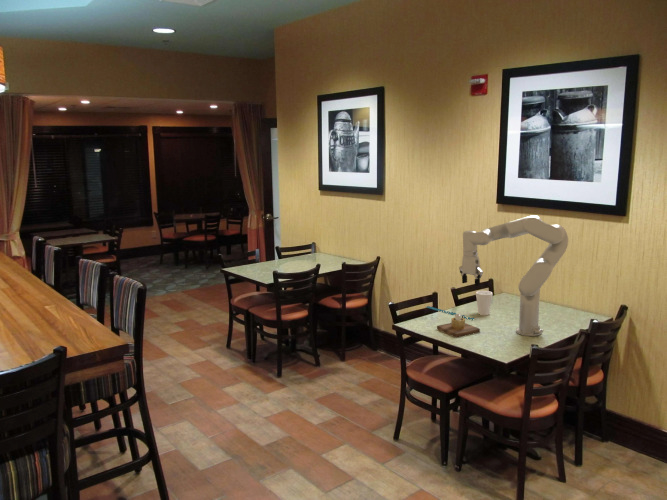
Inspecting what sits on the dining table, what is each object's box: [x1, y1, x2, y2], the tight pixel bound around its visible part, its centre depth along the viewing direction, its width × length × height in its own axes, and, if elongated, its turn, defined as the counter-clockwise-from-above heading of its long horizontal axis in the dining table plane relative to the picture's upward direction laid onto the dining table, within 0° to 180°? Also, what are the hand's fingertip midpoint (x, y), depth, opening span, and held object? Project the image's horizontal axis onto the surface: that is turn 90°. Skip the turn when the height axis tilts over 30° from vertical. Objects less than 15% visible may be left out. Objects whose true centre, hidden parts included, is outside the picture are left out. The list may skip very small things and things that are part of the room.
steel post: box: [454, 313, 462, 321], centre depth 290 cm, size 3×3×7 cm
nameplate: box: [425, 305, 475, 321], centre depth 323 cm, size 37×1×5 cm
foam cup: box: [475, 290, 494, 316], centre depth 318 cm, size 10×9×13 cm
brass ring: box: [450, 317, 466, 329], centre depth 290 cm, size 7×7×4 cm
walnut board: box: [436, 322, 481, 338], centre depth 291 cm, size 16×16×2 cm
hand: (470, 284), depth 294 cm, fingers open, 9 cm apart
